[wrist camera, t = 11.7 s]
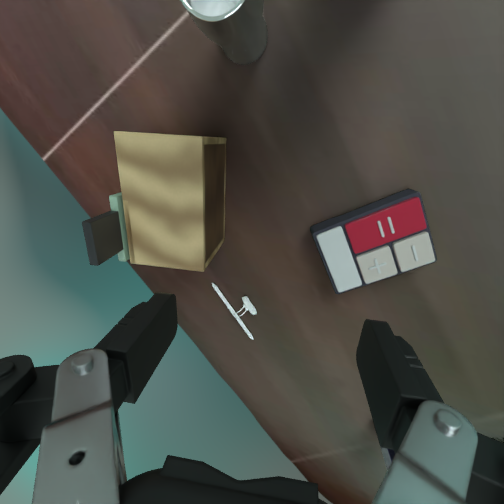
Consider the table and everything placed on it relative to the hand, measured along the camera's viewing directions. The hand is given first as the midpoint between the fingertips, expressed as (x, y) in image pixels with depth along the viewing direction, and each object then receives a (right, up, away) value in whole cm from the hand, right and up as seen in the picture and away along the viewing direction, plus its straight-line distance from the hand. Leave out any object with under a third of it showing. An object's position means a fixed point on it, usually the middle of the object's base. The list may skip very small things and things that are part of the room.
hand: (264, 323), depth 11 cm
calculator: (+18, +5, +31) cm, 36 cm away
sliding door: (-16, +10, +32) cm, 37 cm away
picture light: (-2, -7, +39) cm, 39 cm away
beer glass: (-2, +30, +23) cm, 38 cm away
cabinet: (-10, +13, +31) cm, 35 cm away
